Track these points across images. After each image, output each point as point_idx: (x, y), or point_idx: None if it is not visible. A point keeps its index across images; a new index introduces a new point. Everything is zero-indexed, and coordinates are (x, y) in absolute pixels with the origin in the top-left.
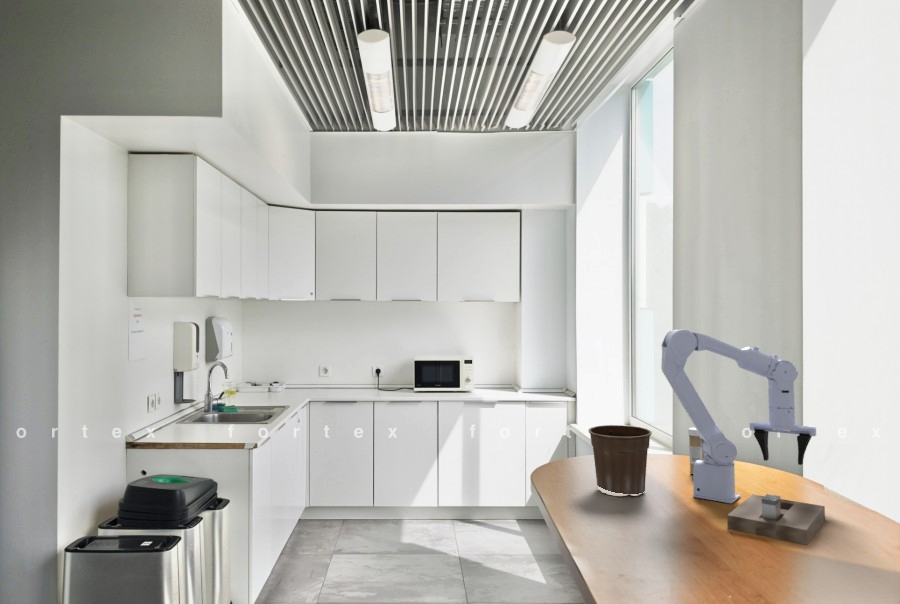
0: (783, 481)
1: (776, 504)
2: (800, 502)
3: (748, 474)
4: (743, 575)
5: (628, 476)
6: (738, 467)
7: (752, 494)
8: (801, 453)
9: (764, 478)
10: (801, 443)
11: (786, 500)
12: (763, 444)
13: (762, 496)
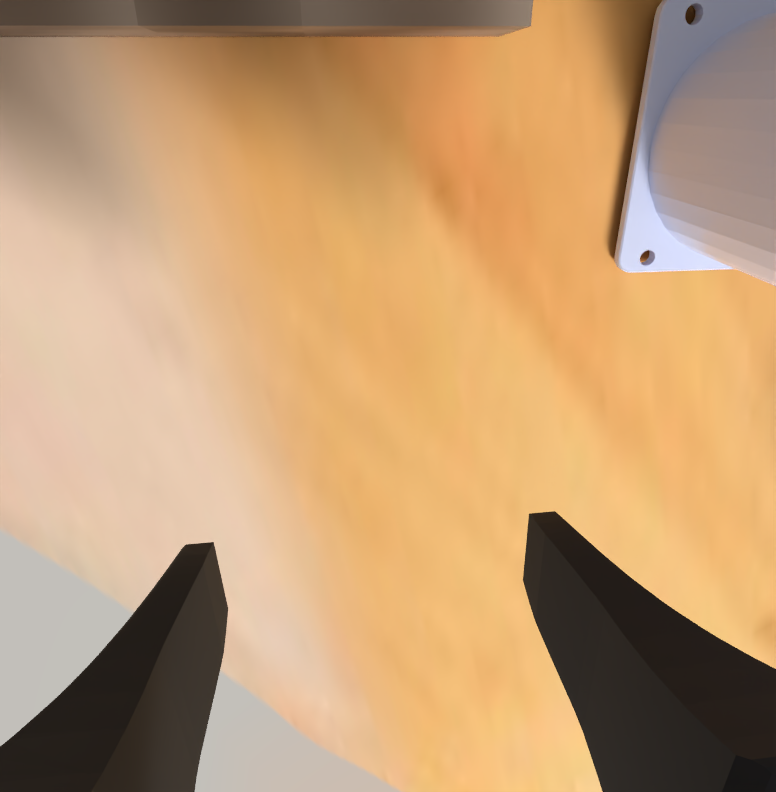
0: (446, 708)
1: None
2: (97, 12)
3: None
4: None
5: None
6: None
7: (529, 23)
8: (126, 636)
9: (537, 703)
10: (41, 767)
11: (221, 3)
12: (643, 634)
13: (438, 3)
